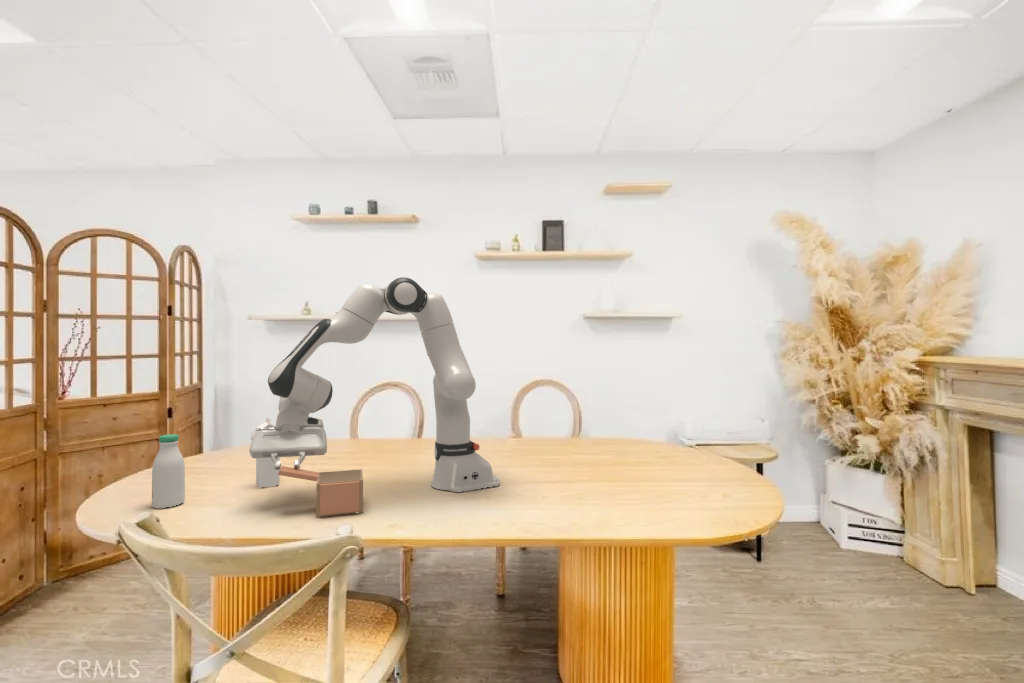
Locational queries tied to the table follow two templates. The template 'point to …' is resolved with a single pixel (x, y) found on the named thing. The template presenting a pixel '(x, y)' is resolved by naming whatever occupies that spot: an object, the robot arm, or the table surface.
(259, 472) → the milk
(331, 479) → the carton
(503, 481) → the table surface
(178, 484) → the milk bottle
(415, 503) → the table surface
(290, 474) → the flap
